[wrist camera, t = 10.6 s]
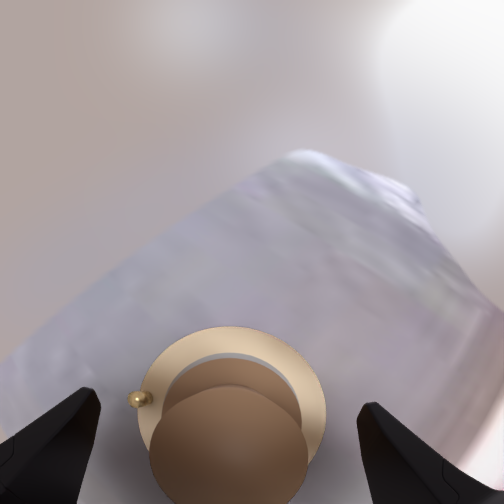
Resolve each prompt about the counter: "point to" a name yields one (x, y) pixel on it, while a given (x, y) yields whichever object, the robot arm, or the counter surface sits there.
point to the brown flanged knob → (229, 437)
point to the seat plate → (232, 346)
